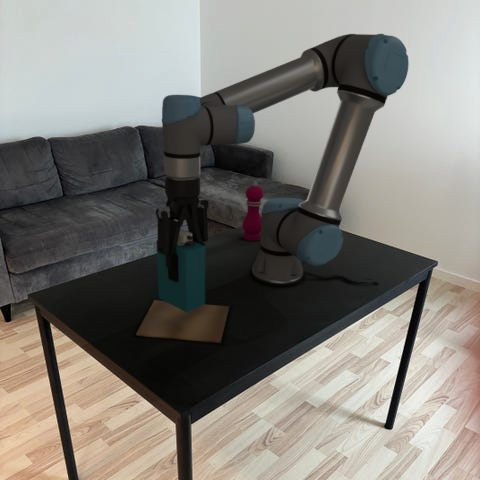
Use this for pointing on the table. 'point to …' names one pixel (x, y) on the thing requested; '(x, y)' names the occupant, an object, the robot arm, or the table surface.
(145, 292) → the table surface
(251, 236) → the pepper mill
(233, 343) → the table surface
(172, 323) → the cork mat
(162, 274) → the teal box
